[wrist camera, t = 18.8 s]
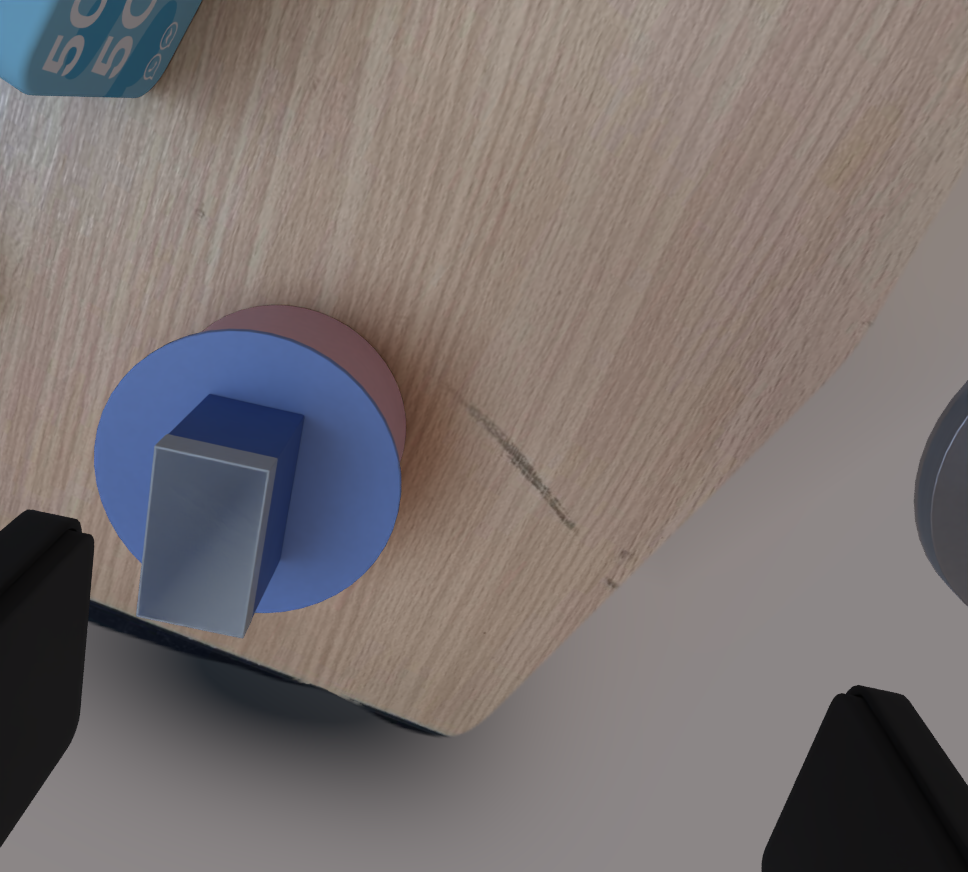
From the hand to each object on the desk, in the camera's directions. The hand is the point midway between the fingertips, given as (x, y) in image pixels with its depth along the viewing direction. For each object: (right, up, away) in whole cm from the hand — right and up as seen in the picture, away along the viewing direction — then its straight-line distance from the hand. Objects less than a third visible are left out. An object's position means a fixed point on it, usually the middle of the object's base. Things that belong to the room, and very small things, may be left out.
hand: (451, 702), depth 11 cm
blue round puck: (-10, +4, +33) cm, 35 cm away
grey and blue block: (-10, +1, +26) cm, 28 cm away
